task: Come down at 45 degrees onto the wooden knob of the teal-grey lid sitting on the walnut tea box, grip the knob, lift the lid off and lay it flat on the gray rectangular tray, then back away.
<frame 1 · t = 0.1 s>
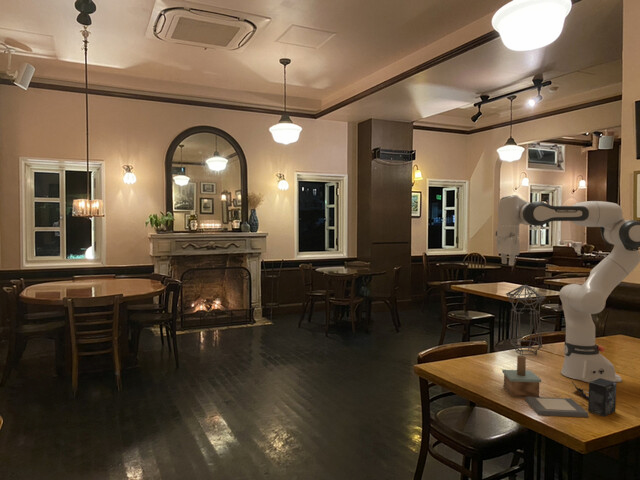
hand: (507, 264, 200), 48 cm above the table, tool pointing down, fingers open, 8 cm apart
geometric lantern: (524, 353, 233), on the table
snack package: (589, 398, 174), on the table
gray rectangular tray: (555, 408, 162), on the table
box: (601, 412, 160), on the table
lid: (521, 377, 178), point 6 cm above the table, touching tea box
tea box: (520, 392, 178), on the table
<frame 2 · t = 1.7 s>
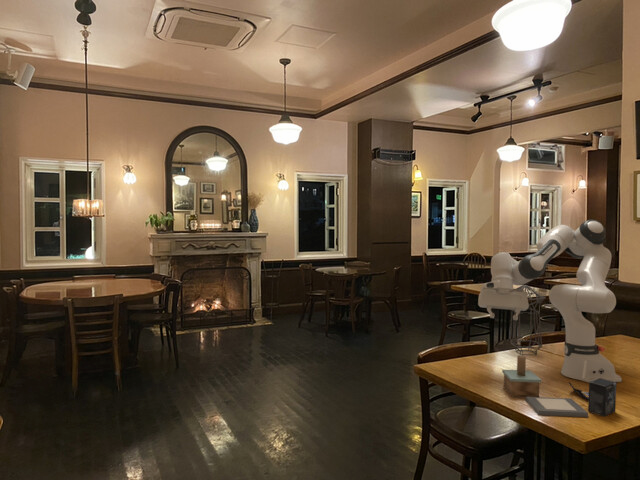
hand: (503, 318, 194), 25 cm above the table, tool tilted 25°, fingers open, 8 cm apart
snack package: (587, 398, 174), on the table
everything else where it was.
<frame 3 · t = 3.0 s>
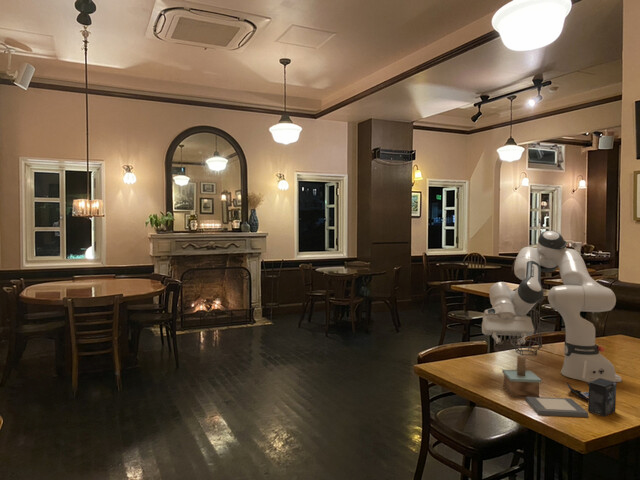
hand: (510, 343, 186), 17 cm above the table, tool tilted 45°, fingers open, 8 cm apart
snack package: (586, 398, 173), on the table
everything else where it was.
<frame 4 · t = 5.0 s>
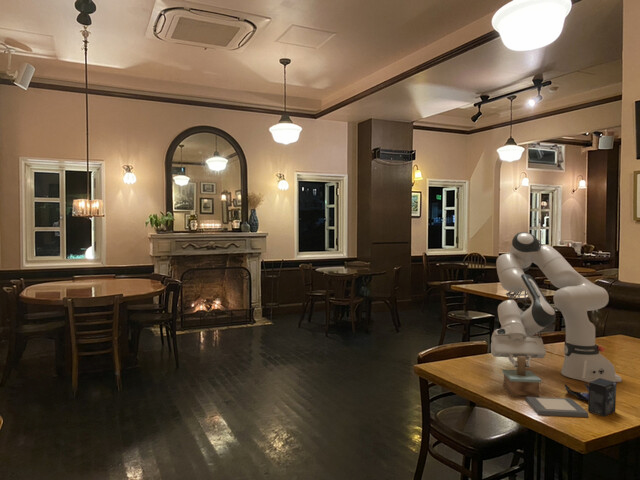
hand: (521, 366, 177), 10 cm above the table, tool tilted 45°, fingers closed on lid, 3 cm apart
snack package: (584, 399, 172), on the table
lid: (521, 377, 178), point 6 cm above the table, touching gripper, tea box
everything else where it was.
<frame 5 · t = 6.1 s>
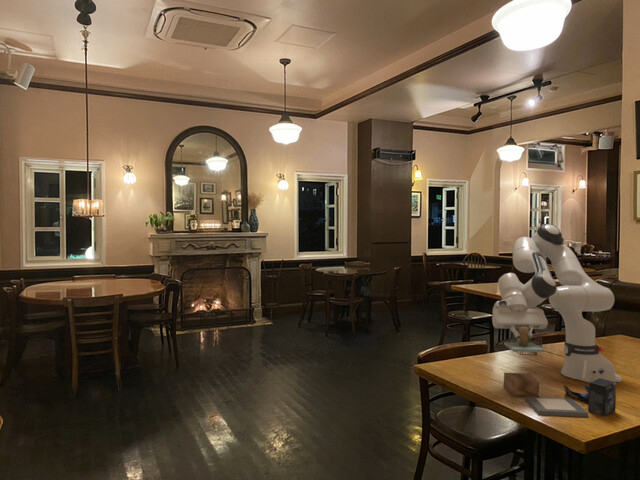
hand: (524, 337, 176), 22 cm above the table, tool tilted 45°, fingers closed on lid, 3 cm apart
lid: (523, 348, 176), point 18 cm above the table, touching gripper
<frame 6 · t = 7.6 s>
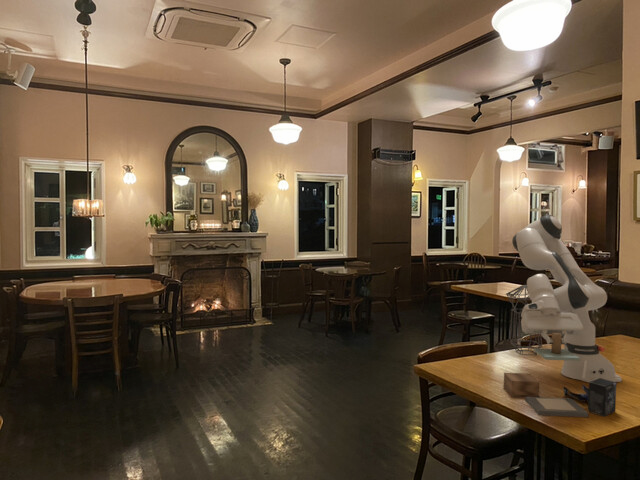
hand: (557, 343, 161), 23 cm above the table, tool tilted 45°, fingers closed on lid, 3 cm apart
snack package: (583, 401, 171), on the table
lid: (556, 355, 162), point 19 cm above the table, touching gripper
everything else where it was.
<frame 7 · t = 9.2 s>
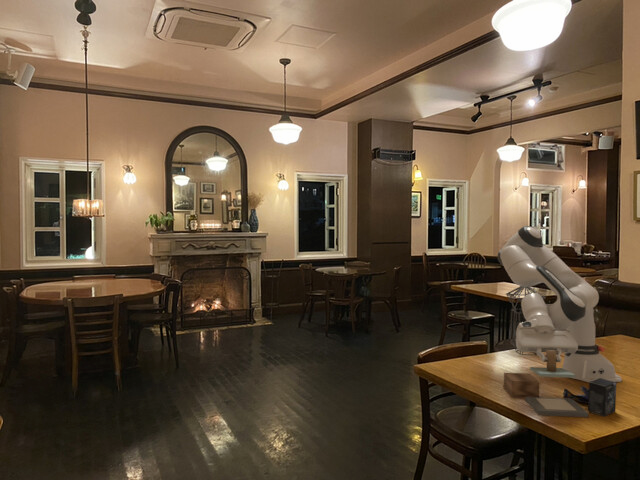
hand: (551, 361, 160), 17 cm above the table, tool tilted 50°, fingers closed on lid, 3 cm apart
snack package: (583, 402, 170), on the table
lid: (551, 373, 160), point 13 cm above the table, tilted 6°, touching gripper
everything else where it was.
when the fingers open (7 cm above the table, at t = 10.8 s): lid drops 1 cm, resting on gray rectangular tray.
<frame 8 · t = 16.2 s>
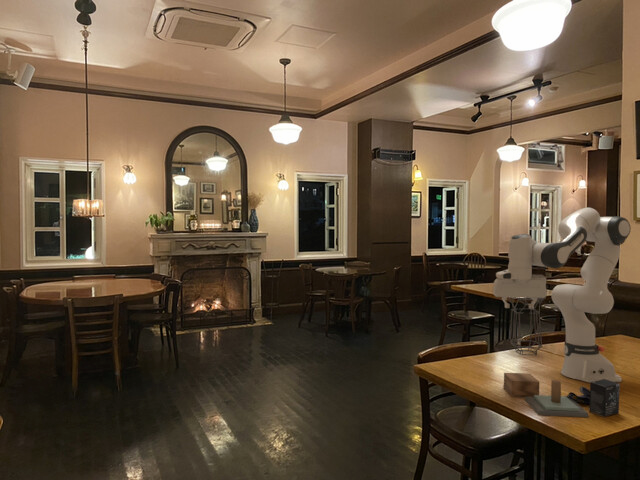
hand: (519, 308, 187), 31 cm above the table, tool pointing down, fingers open, 8 cm apart
snack package: (585, 403, 168), on the table
lid: (555, 404, 162), point 2 cm above the table, touching gray rectangular tray
at the end: lid inside the target area on the gray rectangular tray (0.1 cm from its centre), point 1.6 cm above the gray rectangular tray's base; lid tilted 0°; the gripper is holding nothing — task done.
